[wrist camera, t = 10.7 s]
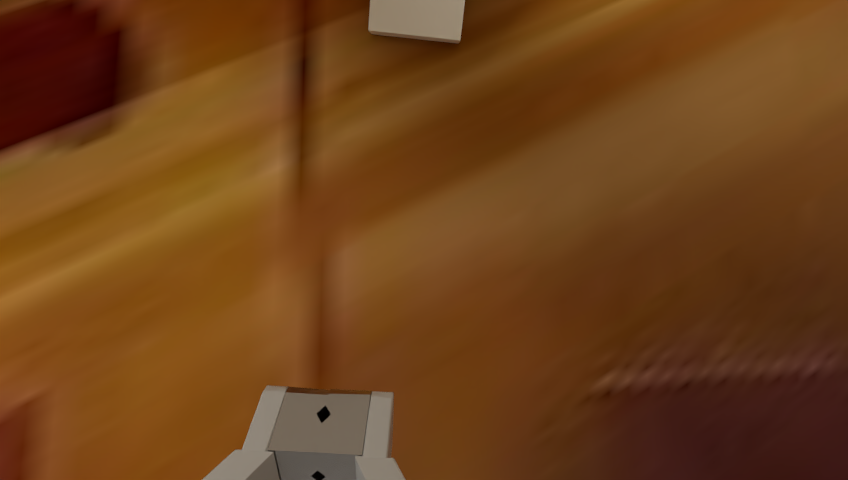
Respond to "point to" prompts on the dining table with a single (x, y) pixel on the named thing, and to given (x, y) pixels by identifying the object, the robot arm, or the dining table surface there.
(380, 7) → the domino
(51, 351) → the dining table surface
